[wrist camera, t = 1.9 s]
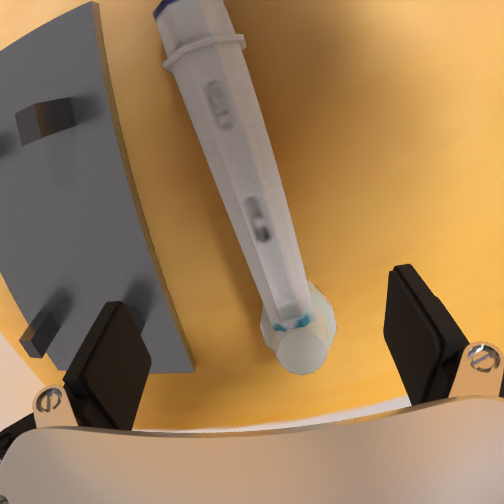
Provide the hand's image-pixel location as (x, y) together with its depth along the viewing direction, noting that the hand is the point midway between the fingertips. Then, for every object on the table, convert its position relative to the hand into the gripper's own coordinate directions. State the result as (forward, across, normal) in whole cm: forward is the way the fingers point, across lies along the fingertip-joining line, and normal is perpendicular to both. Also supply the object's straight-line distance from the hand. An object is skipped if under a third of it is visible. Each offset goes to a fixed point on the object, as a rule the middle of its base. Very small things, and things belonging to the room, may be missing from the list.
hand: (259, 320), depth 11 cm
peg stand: (+11, +16, -1) cm, 19 cm away
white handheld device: (+12, 0, -1) cm, 12 cm away
